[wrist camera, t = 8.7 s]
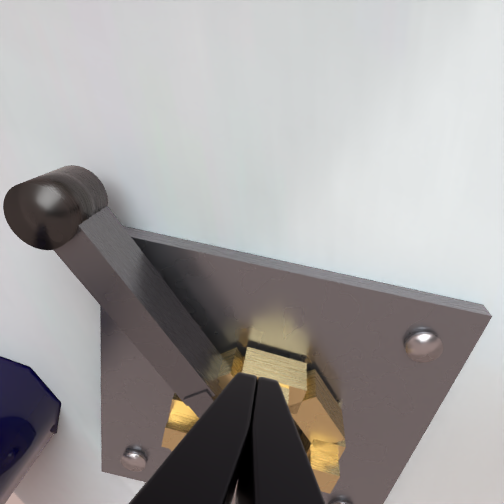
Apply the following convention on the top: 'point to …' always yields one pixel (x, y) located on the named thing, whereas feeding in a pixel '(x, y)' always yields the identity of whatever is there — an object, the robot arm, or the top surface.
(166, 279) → the flange plate
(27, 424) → the bottle
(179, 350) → the lever handle
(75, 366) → the top surface
